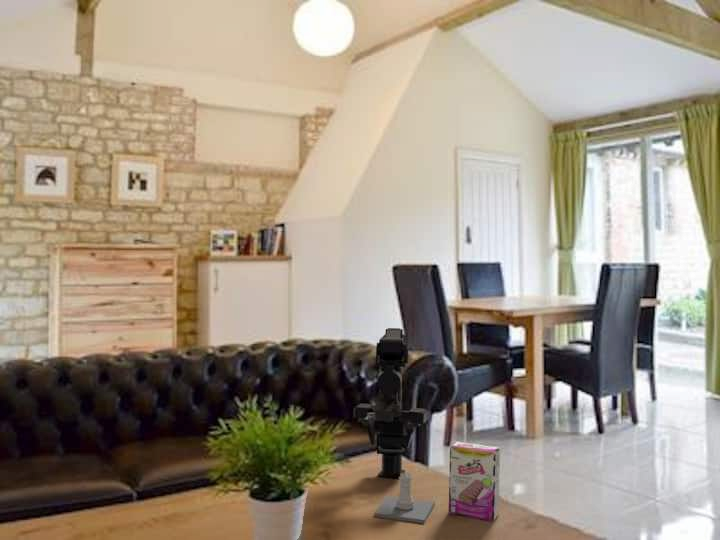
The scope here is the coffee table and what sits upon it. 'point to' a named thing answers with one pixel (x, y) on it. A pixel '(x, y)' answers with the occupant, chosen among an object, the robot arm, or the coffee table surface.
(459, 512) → the candy bar box
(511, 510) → the coffee table surface
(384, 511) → the gray mat
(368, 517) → the coffee table surface
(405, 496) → the rook chess piece
